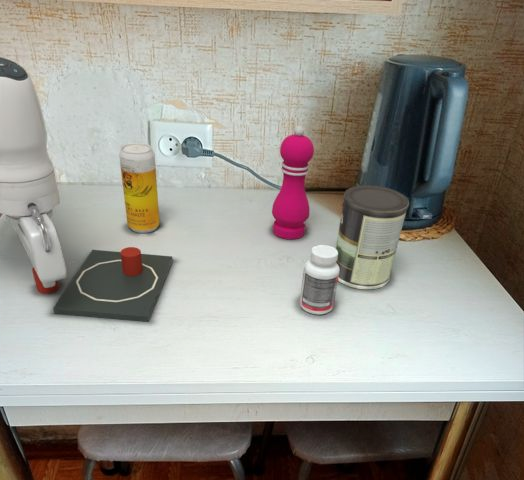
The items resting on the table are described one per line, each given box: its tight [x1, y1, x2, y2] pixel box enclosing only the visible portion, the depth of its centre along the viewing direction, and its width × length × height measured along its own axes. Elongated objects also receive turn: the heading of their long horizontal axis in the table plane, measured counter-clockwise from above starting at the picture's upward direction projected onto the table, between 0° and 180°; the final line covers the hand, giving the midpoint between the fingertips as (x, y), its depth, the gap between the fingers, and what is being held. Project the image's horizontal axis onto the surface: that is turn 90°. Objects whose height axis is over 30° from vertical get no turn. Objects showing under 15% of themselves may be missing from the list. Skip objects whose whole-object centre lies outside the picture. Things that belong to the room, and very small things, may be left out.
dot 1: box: [31, 266, 60, 295], centre depth 79 cm, size 3×3×4 cm
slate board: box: [52, 249, 174, 323], centre depth 82 cm, size 14×18×1 cm
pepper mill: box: [271, 125, 315, 240], centre depth 94 cm, size 7×7×20 cm
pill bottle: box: [299, 244, 340, 315], centre depth 78 cm, size 5×5×10 cm
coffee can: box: [335, 184, 410, 291], centre depth 85 cm, size 10×10×14 cm
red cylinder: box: [119, 246, 143, 276], centre depth 83 cm, size 3×3×4 cm
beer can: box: [118, 142, 161, 234], centre depth 94 cm, size 6×6×15 cm
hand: (45, 277), depth 79 cm, fingers closed on dot 1, 3 cm apart
